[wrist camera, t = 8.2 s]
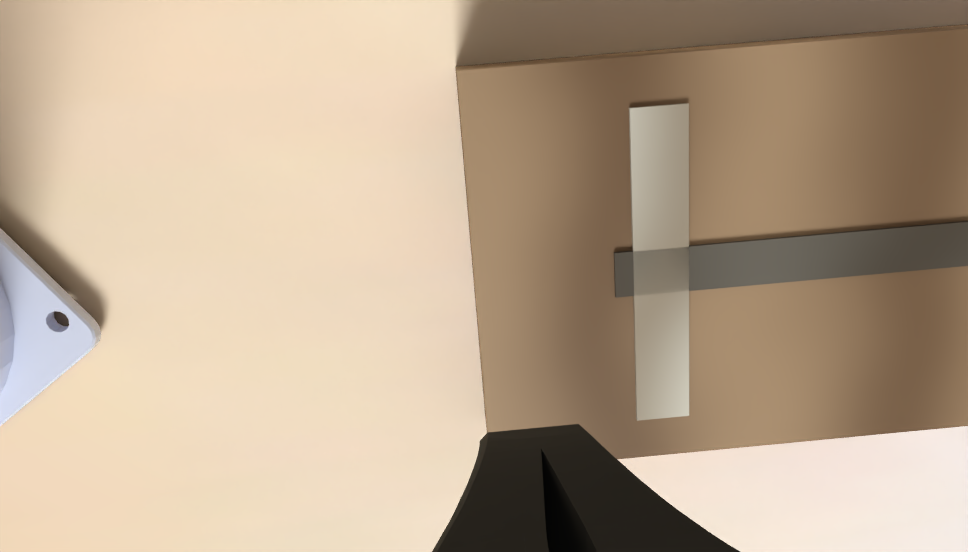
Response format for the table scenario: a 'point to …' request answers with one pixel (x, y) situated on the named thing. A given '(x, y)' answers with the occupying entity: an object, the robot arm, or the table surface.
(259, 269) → the table surface
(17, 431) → the table surface
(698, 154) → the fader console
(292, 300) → the table surface
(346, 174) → the table surface
